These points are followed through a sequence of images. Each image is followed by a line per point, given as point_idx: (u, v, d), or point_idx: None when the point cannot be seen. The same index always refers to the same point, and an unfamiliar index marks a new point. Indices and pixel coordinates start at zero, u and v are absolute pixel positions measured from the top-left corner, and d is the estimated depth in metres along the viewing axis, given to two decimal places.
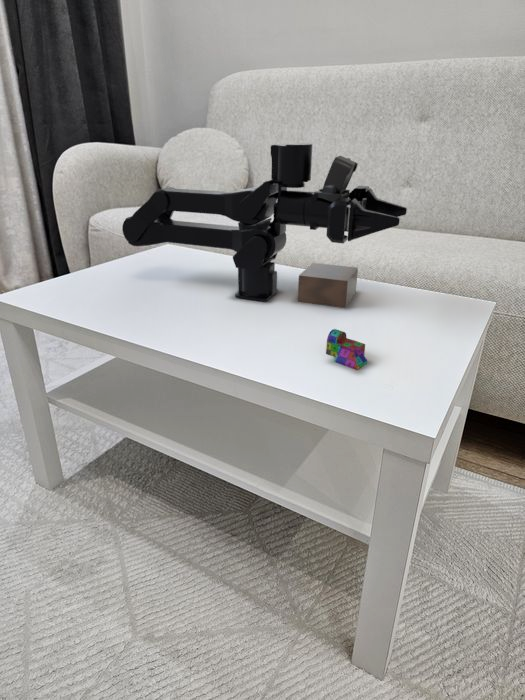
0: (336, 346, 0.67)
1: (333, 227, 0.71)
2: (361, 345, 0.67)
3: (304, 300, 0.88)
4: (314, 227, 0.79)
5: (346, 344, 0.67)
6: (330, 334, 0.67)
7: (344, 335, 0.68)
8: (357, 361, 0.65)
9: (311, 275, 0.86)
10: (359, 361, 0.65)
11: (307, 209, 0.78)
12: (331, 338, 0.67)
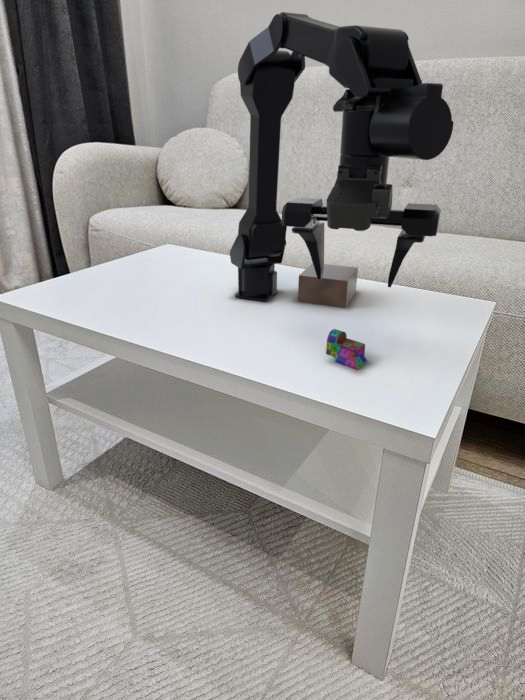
0: (336, 346, 0.67)
1: None
2: (361, 345, 0.67)
3: (304, 300, 0.88)
4: None
5: (346, 344, 0.67)
6: (330, 334, 0.67)
7: (344, 335, 0.68)
8: (357, 361, 0.65)
9: (311, 275, 0.86)
10: (359, 361, 0.65)
11: None
12: (331, 338, 0.67)
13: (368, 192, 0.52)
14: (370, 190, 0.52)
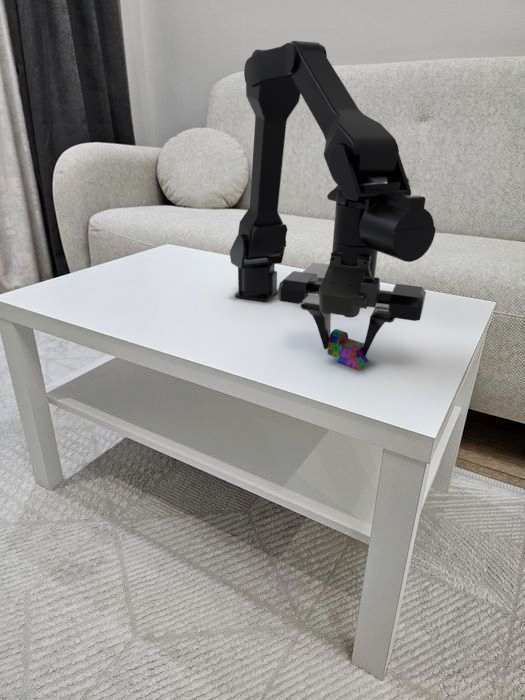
0: (338, 346, 0.67)
1: None
2: (363, 345, 0.66)
3: None
4: None
5: (347, 344, 0.67)
6: (332, 334, 0.67)
7: (346, 335, 0.68)
8: (359, 361, 0.65)
9: None
10: (361, 361, 0.65)
11: None
12: (333, 338, 0.67)
13: (357, 282, 0.56)
14: (359, 280, 0.56)
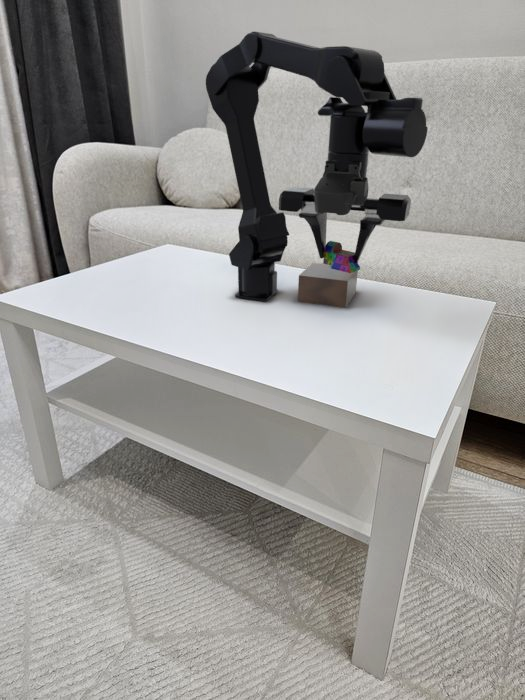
0: (332, 254, 0.74)
1: None
2: None
3: (304, 300, 0.88)
4: None
5: (341, 253, 0.74)
6: (327, 244, 0.75)
7: (340, 246, 0.75)
8: (351, 266, 0.72)
9: (311, 275, 0.86)
10: (353, 266, 0.72)
11: None
12: (328, 248, 0.74)
13: (348, 183, 0.63)
14: (350, 182, 0.64)
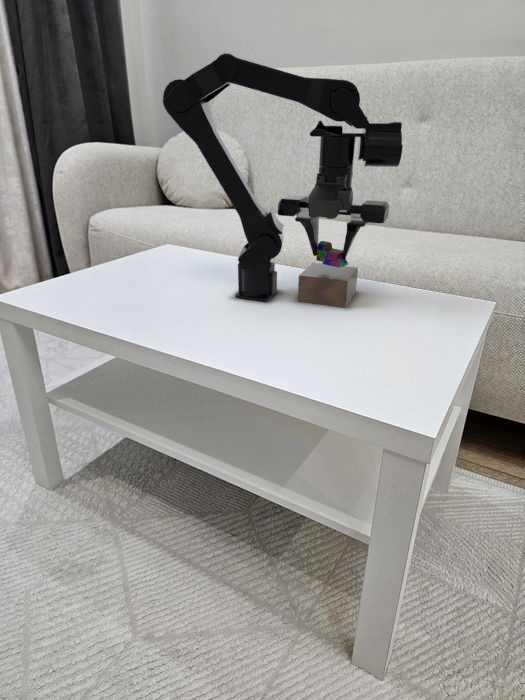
0: (324, 252, 0.87)
1: None
2: None
3: (304, 300, 0.88)
4: None
5: (331, 251, 0.87)
6: (319, 244, 0.87)
7: (330, 245, 0.88)
8: (340, 261, 0.85)
9: (311, 275, 0.86)
10: (341, 262, 0.85)
11: None
12: (320, 247, 0.87)
13: (336, 192, 0.76)
14: (337, 191, 0.76)
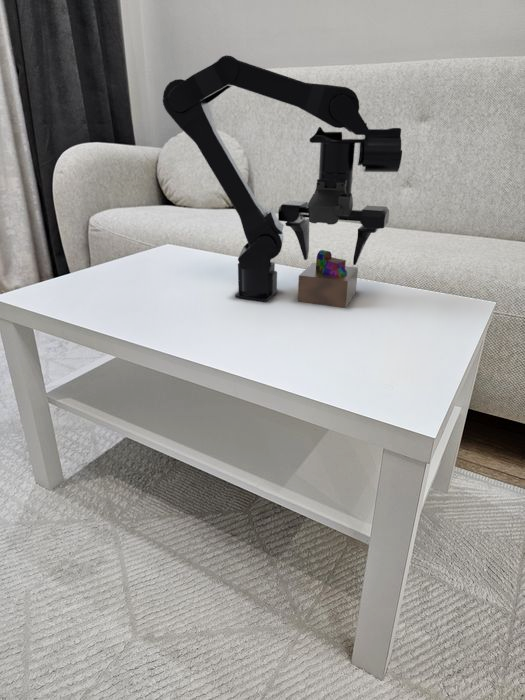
0: (323, 261, 0.88)
1: None
2: (342, 260, 0.87)
3: (304, 300, 0.88)
4: None
5: (331, 260, 0.87)
6: (319, 253, 0.88)
7: (330, 254, 0.89)
8: (339, 271, 0.85)
9: (311, 275, 0.86)
10: (341, 271, 0.86)
11: None
12: (319, 256, 0.88)
13: (336, 198, 0.77)
14: (337, 197, 0.77)
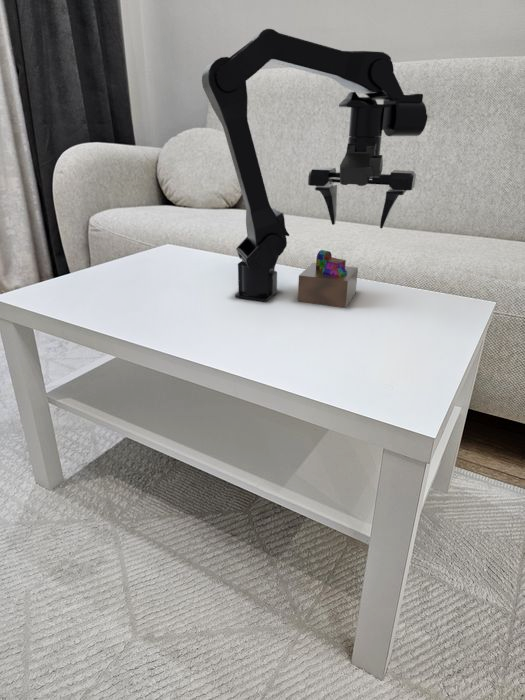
0: (323, 261, 0.88)
1: None
2: (342, 260, 0.87)
3: (304, 300, 0.88)
4: None
5: (331, 260, 0.87)
6: (319, 253, 0.88)
7: (329, 254, 0.89)
8: (339, 271, 0.85)
9: (311, 275, 0.86)
10: (341, 271, 0.86)
11: (348, 140, 0.85)
12: (319, 256, 0.88)
13: (367, 160, 0.80)
14: (368, 159, 0.80)
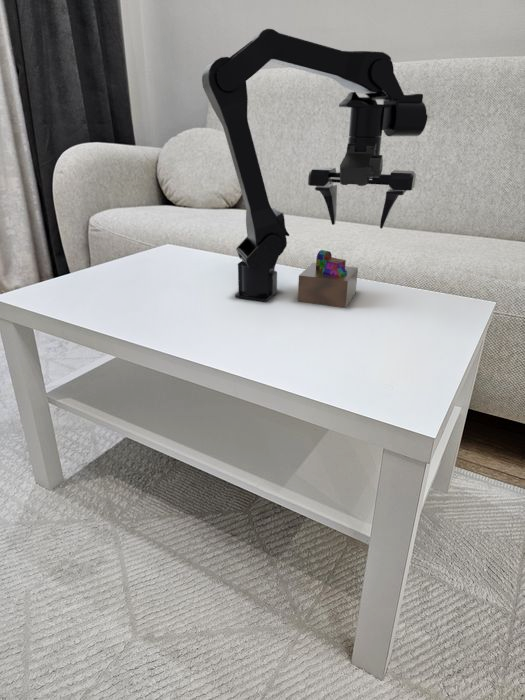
0: (323, 261, 0.88)
1: None
2: (342, 260, 0.87)
3: (304, 300, 0.88)
4: None
5: (331, 260, 0.87)
6: (319, 253, 0.88)
7: (329, 254, 0.89)
8: (339, 271, 0.85)
9: (311, 275, 0.86)
10: (341, 271, 0.86)
11: (348, 140, 0.85)
12: (319, 256, 0.88)
13: (367, 160, 0.80)
14: (368, 159, 0.80)
